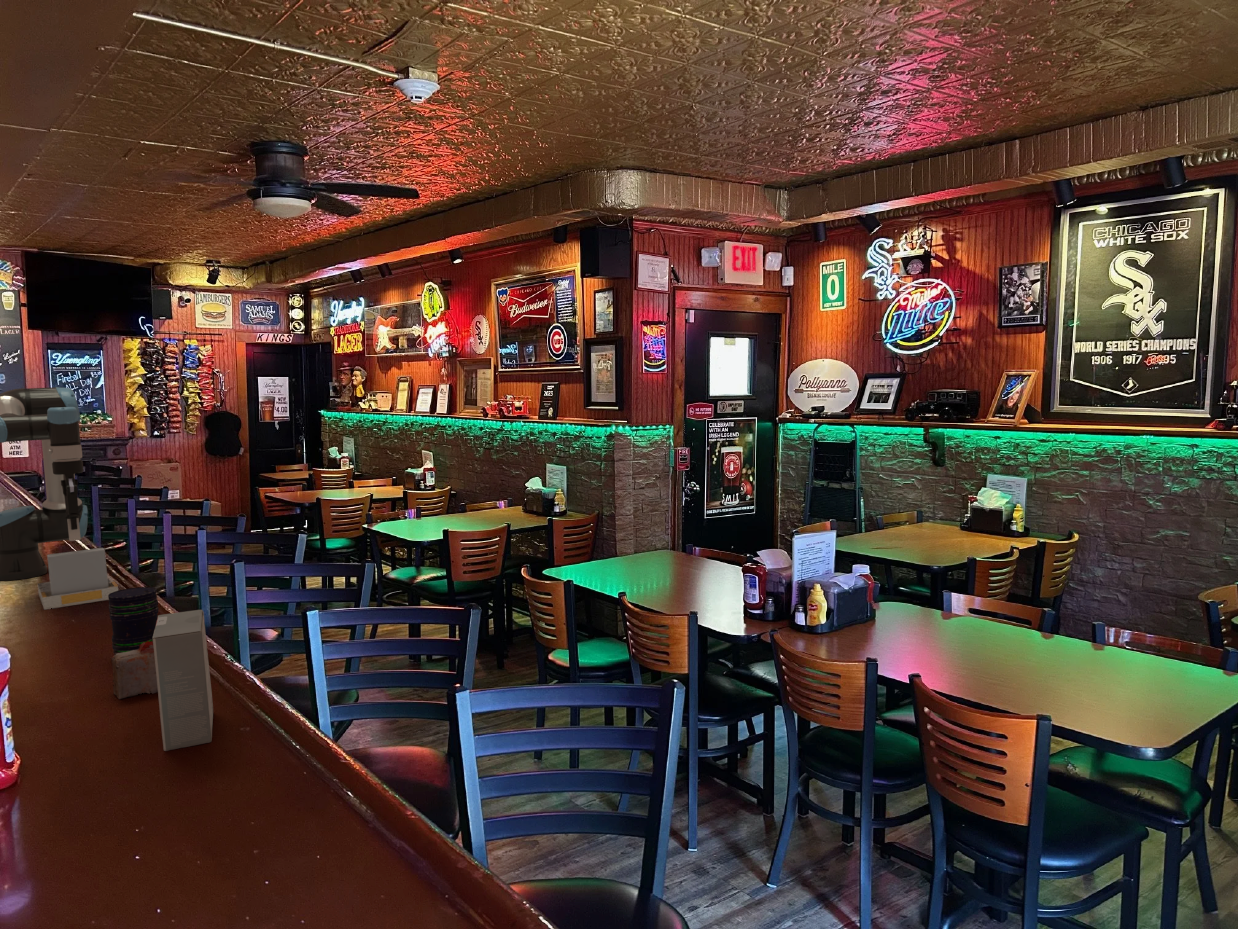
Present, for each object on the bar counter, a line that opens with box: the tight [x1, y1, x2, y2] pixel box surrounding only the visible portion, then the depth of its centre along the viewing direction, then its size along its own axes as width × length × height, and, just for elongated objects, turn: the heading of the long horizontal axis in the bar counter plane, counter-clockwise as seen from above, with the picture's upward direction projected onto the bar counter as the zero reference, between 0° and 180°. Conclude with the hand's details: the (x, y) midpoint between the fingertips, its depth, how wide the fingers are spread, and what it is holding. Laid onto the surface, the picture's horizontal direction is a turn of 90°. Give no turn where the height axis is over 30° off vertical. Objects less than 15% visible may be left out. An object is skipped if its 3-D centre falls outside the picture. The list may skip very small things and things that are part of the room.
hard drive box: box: [152, 609, 214, 752], centre depth 150 cm, size 16×8×20 cm, turn 25°
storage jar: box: [108, 586, 160, 656], centre depth 196 cm, size 10×10×15 cm
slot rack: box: [37, 573, 119, 610], centre depth 258 cm, size 24×19×4 cm
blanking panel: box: [46, 547, 108, 596], centre depth 252 cm, size 5×14×14 cm, turn 127°
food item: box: [110, 641, 158, 700], centre depth 174 cm, size 14×8×10 cm, turn 129°
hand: (75, 540), depth 250 cm, fingers closed
